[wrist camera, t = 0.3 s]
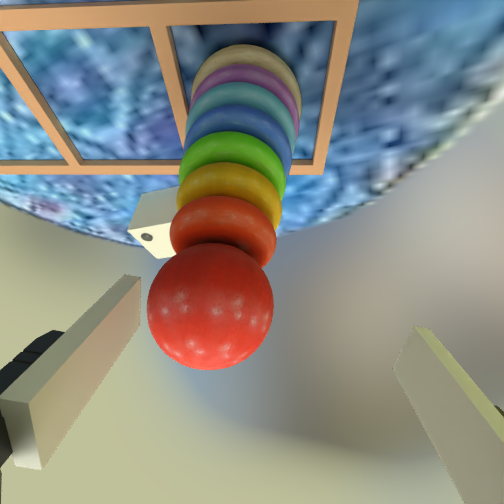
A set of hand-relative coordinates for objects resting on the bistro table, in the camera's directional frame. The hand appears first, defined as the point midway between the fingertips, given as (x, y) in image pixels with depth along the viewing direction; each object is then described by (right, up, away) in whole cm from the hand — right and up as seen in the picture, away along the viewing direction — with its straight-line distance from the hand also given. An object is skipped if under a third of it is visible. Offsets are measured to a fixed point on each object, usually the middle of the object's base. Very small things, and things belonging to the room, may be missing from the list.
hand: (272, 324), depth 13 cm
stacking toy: (-1, +15, +7) cm, 17 cm away
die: (-9, +9, +17) cm, 21 cm away
